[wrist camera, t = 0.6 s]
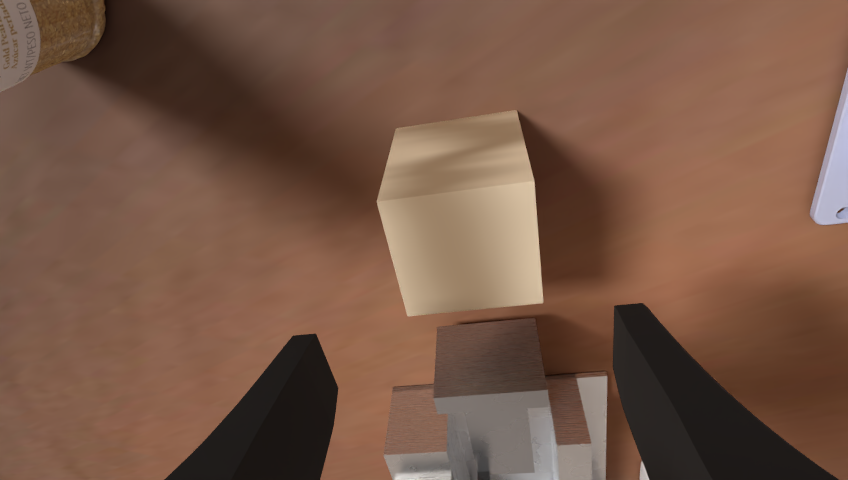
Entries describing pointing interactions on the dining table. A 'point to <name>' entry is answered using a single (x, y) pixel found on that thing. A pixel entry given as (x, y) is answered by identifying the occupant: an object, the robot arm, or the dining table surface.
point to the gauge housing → (549, 427)
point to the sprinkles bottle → (45, 35)
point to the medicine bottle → (643, 472)
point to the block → (462, 215)
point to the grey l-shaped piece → (492, 389)
